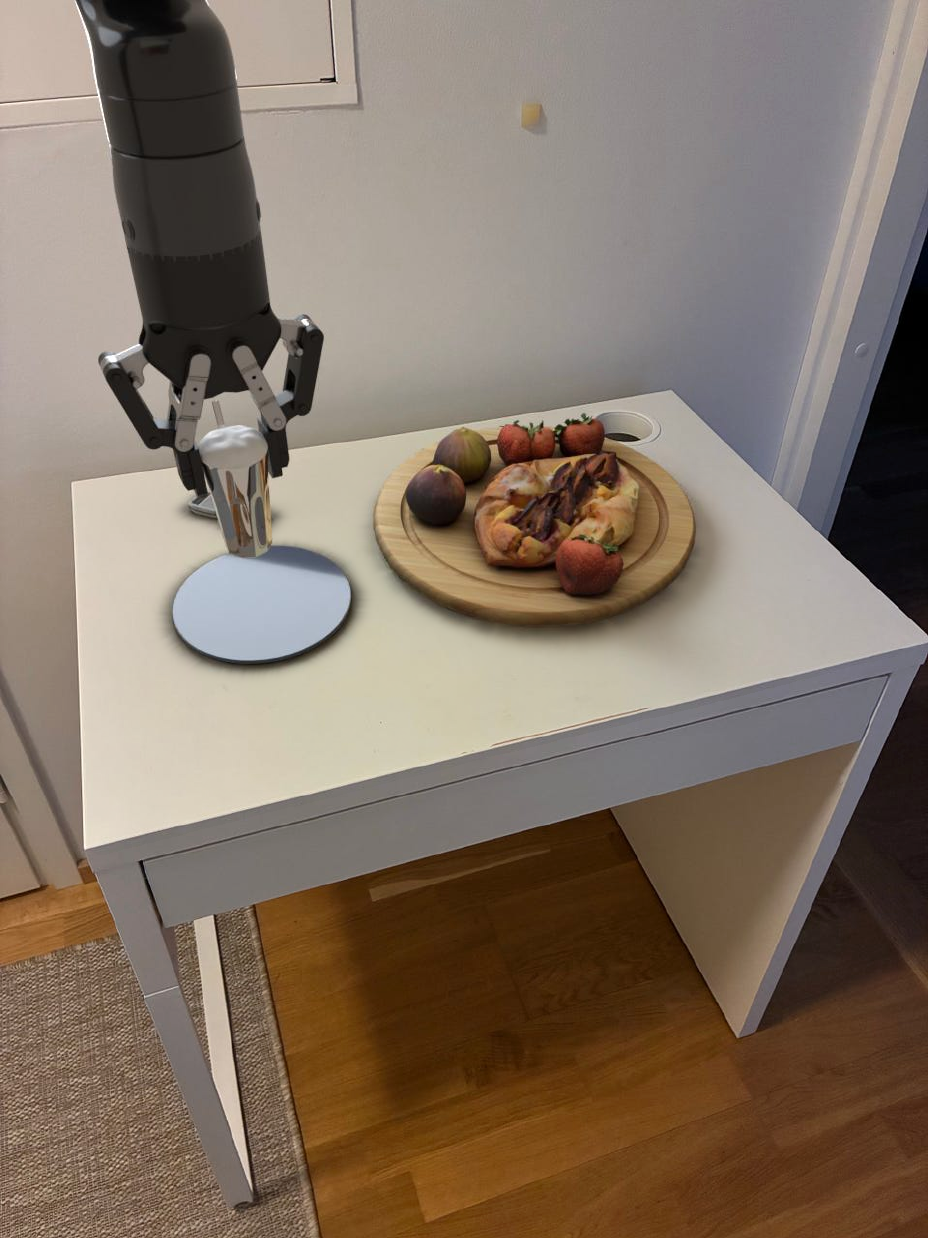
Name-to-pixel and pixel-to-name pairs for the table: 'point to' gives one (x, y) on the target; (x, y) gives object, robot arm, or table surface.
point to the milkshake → (238, 485)
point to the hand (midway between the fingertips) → (236, 479)
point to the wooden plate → (534, 524)
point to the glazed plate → (262, 605)
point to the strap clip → (203, 506)
